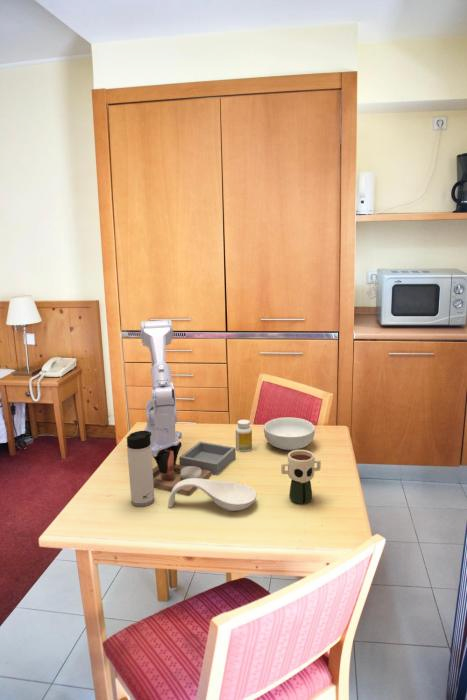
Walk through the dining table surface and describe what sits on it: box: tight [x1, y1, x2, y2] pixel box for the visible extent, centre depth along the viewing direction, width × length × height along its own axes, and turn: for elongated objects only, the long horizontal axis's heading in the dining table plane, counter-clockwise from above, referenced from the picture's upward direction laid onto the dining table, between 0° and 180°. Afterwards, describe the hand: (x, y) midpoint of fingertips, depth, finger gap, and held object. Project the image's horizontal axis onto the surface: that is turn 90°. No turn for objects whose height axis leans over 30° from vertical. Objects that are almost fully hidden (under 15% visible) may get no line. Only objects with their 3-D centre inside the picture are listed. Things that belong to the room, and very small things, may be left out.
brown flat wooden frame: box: [152, 463, 212, 496], centre depth 158 cm, size 17×13×4 cm
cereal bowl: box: [263, 417, 316, 451], centre depth 180 cm, size 17×17×7 cm
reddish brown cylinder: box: [160, 448, 176, 482], centre depth 159 cm, size 4×4×9 cm
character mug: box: [280, 449, 322, 504], centre depth 145 cm, size 11×7×13 cm, turn 100°
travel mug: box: [126, 430, 155, 508], centre depth 145 cm, size 6×7×20 cm
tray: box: [179, 441, 237, 476], centre depth 169 cm, size 13×13×4 cm
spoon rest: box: [167, 478, 258, 512], centre depth 144 cm, size 24×12×7 cm, turn 87°
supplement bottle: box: [235, 419, 253, 453], centre depth 178 cm, size 5×5×10 cm
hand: (167, 469), depth 159 cm, fingers closed on reddish brown cylinder, 4 cm apart
